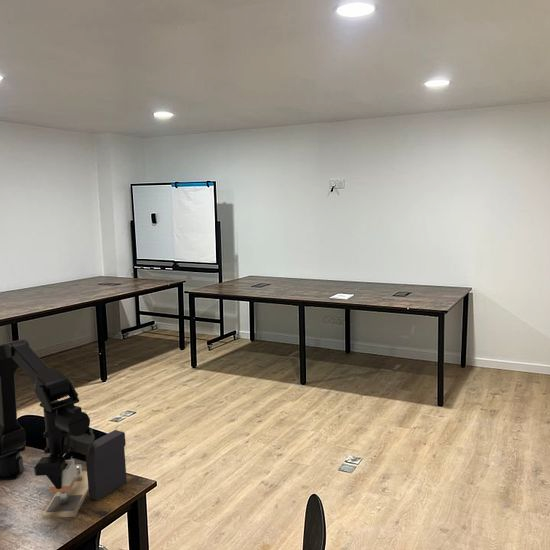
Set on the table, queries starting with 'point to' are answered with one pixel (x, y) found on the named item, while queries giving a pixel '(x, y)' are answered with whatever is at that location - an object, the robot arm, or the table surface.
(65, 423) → the robot arm
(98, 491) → the upright charcoal slab
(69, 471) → the sleeve
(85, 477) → the pin board
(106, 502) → the table surface
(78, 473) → the pins
